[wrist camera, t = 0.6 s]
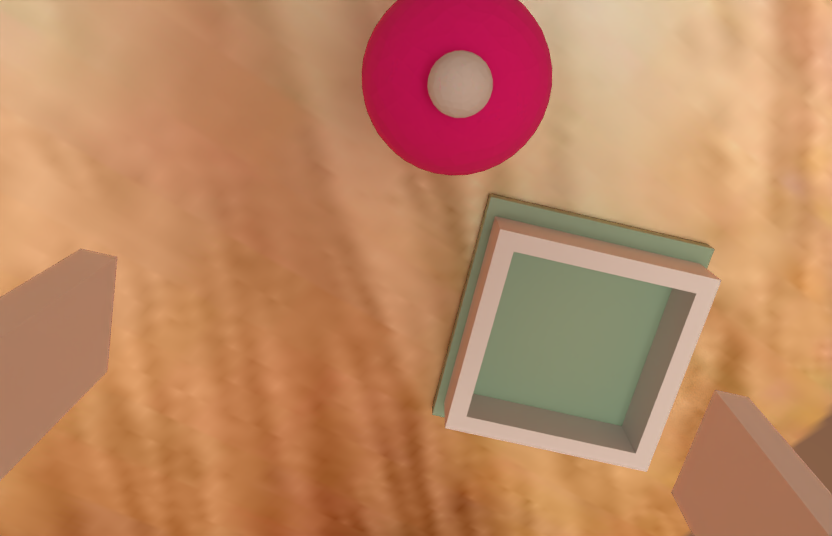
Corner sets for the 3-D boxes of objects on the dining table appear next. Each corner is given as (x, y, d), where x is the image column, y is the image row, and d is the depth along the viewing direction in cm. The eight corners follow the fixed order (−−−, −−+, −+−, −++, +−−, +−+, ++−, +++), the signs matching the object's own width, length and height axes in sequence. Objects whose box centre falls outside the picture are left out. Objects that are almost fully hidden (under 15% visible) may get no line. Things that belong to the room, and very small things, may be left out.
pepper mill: (540, 76, 37) (658, 101, 18) (438, 164, 38) (444, 273, 19) (454, -33, 35) (481, -138, 16) (351, 62, 37) (264, 71, 18)
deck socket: (489, 193, 39) (495, 208, 35) (707, 244, 39) (737, 264, 35) (432, 406, 43) (432, 441, 39) (630, 449, 43) (649, 487, 40)
